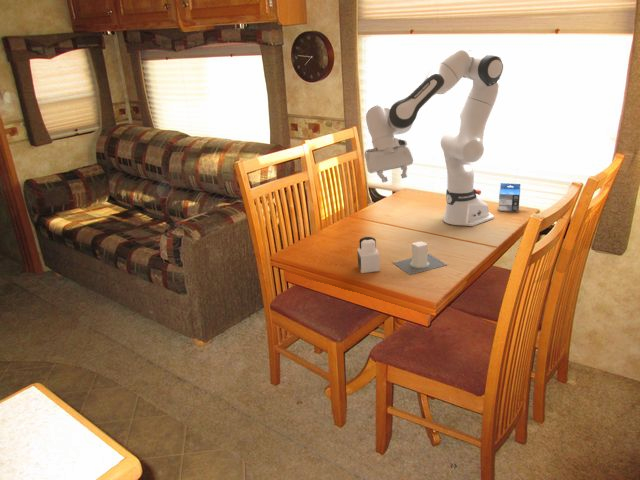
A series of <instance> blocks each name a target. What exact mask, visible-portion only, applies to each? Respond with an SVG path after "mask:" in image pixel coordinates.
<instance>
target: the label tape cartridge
mask: <svg viewBox="0 0 640 480" xmlns="http://www.w3.org/2000/svg"><path fill="white" fill-rule="evenodd" d="M520 197H521V183H510V182H509V183H503V182H501V183H500V188H499V195H498V209H497V210H498V212H515V213H519V210H520Z"/></svg>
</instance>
